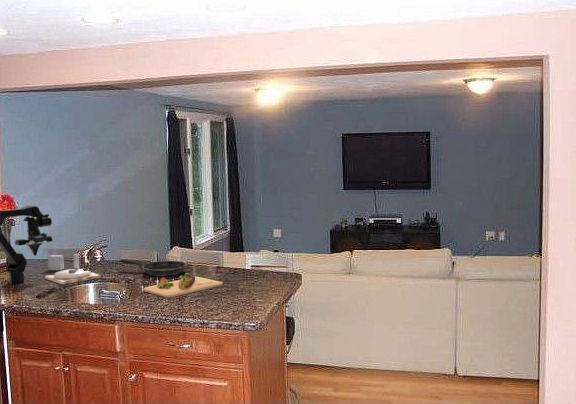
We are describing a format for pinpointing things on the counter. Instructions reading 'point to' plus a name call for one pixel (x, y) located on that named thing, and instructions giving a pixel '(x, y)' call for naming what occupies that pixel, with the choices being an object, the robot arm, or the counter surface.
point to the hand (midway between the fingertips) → (35, 255)
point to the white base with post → (72, 271)
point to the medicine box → (55, 262)
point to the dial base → (66, 281)
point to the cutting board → (181, 286)
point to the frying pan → (159, 267)
